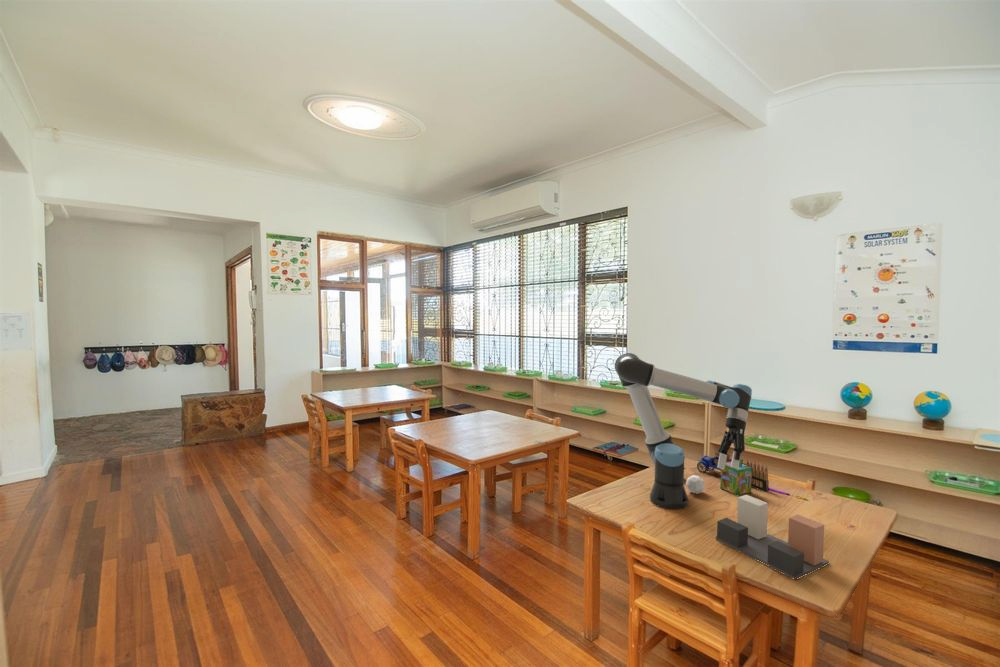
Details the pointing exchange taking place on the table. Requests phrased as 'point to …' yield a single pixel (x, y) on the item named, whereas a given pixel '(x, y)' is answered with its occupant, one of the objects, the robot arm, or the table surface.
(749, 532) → the off-white key
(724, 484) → the chalk box
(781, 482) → the table surface
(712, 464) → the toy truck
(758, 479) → the ammunition clip
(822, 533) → the terracotta key
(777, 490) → the yellow handled tool
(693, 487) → the geometric ball
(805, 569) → the key console
